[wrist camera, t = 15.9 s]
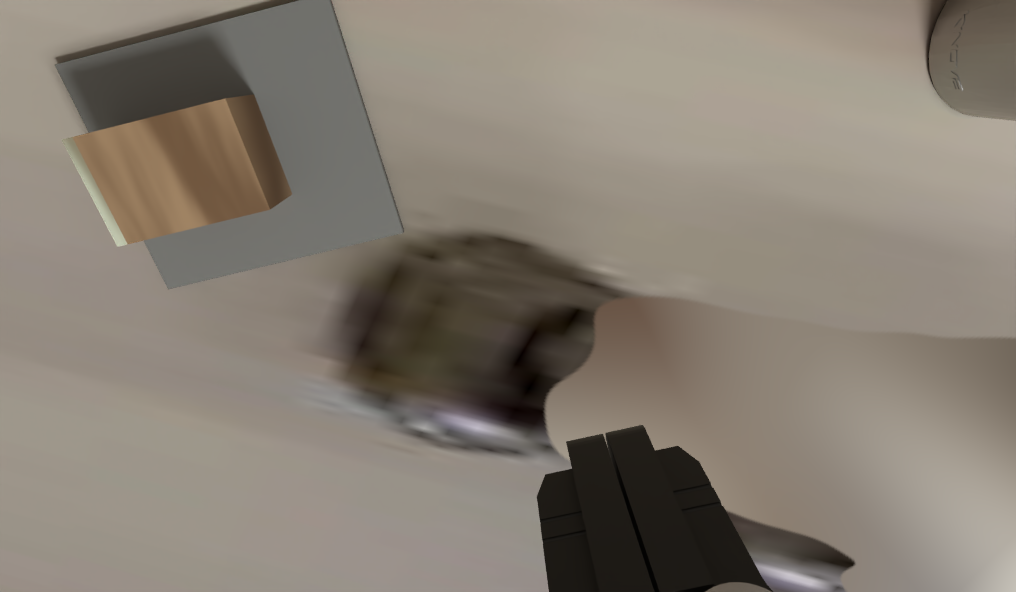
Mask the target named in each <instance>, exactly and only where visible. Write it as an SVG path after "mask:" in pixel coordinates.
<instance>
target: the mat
mask: <svg viewBox="0 0 1016 592" xmlns="http://www.w3.org/2000/svg"><path fill="white" fill-rule="evenodd" d="M55 66H56V68H57V70H58V72H59V74H60V76H61V78H62V80H63V82H64V84H65V86H66V88H67V90H68V92H69V94H70V96H71V98H72V100H73V102H74V104H75V106H76V108H77V110H78V112H79V114H80V116H81V118H82V120H83V122H84V124H85V126H86V128H87V130H88V132H89V133H91V132H95V131H99V130H102V129H106V128H110V127H114V126H118V125H122V124H126V123H130V122H134V121H138V120H142V119H146V118H150V117H154V116H158V115H162V114H166V113H170V112H173V111H177V110H181V109H185V108H189V107H193V106H197V105H201V104H205V103H209V102H213V101H217V100H221V99H225V98H232V97H239V96H246V95H255V98H256V101H257V103H258V106H259V108H260V111H261V114H262V116H263V119H264V121H265V124H266V127H267V129H268V132H269V134H270V137H271V140H272V142H273V145H274V147H275V150H276V153H277V155H278V158H279V161H280V163H281V166H282V168H283V171H284V174H285V176H286V179H287V181H288V184H289V187H290V189H291V192H292V195H291V196H289V197H288V198H286V199H285V200H284V201H282V202H281V203H279V204H278V205H276V206H275V207H273V208H272V209H270V210H267V211H263V212H259V213H255V214H251V215H246V216H242V217H238V218H234V219H230V220H226V221H222V222H218V223H214V224H209V225H205V226H201V227H197V228H193V229H189V230H185V231H181V232H176V233H172V234H168V235H164V236H160V237H156V238H152V239H148V240H144V242H145V244H146V246H147V248H148V250H149V252H150V254H151V256H152V258H153V260H154V262H155V264H156V266H157V268H158V270H159V272H160V274H161V276H162V278H163V280H164V282H165V284H166V286H167V288H168V289H172V288H176V287H180V286H184V285H188V284H193V283H197V282H201V281H205V280H209V279H213V278H218V277H222V276H226V275H230V274H234V273H238V272H243V271H247V270H251V269H255V268H259V267H263V266H268V265H272V264H276V263H280V262H284V261H288V260H292V259H297V258H301V257H305V256H309V255H313V254H317V253H322V252H326V251H330V250H334V249H338V248H342V247H347V246H351V245H355V244H359V243H363V242H367V241H372V240H376V239H380V238H384V237H388V236H392V235H396V234H401V233H404V229H403V226H402V223H401V219H400V216H399V213H398V210H397V207H396V204H395V200H394V197H393V194H392V191H391V188H390V185H389V181H388V178H387V175H386V172H385V169H384V166H383V163H382V159H381V156H380V153H379V150H378V147H377V144H376V140H375V137H374V134H373V131H372V128H371V125H370V121H369V118H368V115H367V112H366V109H365V106H364V102H363V99H362V96H361V93H360V90H359V87H358V83H357V80H356V77H355V74H354V71H353V68H352V64H351V61H350V58H349V55H348V52H347V49H346V46H345V42H344V39H343V36H342V33H341V30H340V27H339V23H338V20H337V17H336V14H335V11H334V8H333V4H332V1H331V0H298V1H295V2H291V3H287V4H283V5H279V6H276V7H272V8H268V9H264V10H260V11H257V12H253V13H249V14H245V15H242V16H238V17H234V18H230V19H226V20H223V21H219V22H215V23H211V24H207V25H204V26H200V27H196V28H192V29H188V30H185V31H181V32H177V33H173V34H169V35H166V36H162V37H158V38H154V39H151V40H147V41H143V42H139V43H135V44H132V45H128V46H124V47H120V48H116V49H113V50H109V51H105V52H101V53H97V54H94V55H90V56H86V57H82V58H78V59H75V60H71V61H67V62H63V63H60V64H56V65H55Z"/></svg>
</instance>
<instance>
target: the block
mask: <svg viewBox="0 0 1016 592" xmlns="http://www.w3.org/2000/svg"><path fill="white" fill-rule="evenodd" d="M62 142H63V144H64V146H65V147H66V149H67V151H68V153H69V155H70V157H71V159H72V161H73V163H74V165H75V167H76V168H77V170H78V172H79V174H80V176H81V178H82V180H83V182H84V184H85V186H86V188H87V189H88V191H89V193H90V195H91V197H92V199H93V201H94V203H95V205H96V207H97V209H98V210H99V212H100V214H101V216H102V218H103V220H104V222H105V224H106V226H107V228H108V230H109V231H110V233H111V235H112V237H113V239H114V241H115V243H116V245H117V247H119V246H123V245H127V244H131V243H135V242H139V241H143V240H148V239H152V238H156V237H160V236H164V235H168V234H172V233H176V232H181V231H185V230H189V229H193V228H197V227H201V226H205V225H209V224H214V223H218V222H222V221H226V220H230V219H234V218H238V217H242V216H246V215H251V214H255V213H259V212H263V211H267V210H270V209H272V208H273V207H275V206H276V205H278V204H279V203H281V202H282V201H284V200H285V199H286V198H288V197H289V196H291V195H292V192H291V189H290V187H289V184H288V181H287V179H286V176H285V174H284V171H283V168H282V166H281V163H280V161H279V158H278V155H277V153H276V150H275V147H274V145H273V142H272V140H271V137H270V134H269V132H268V129H267V127H266V124H265V121H264V119H263V116H262V114H261V111H260V108H259V106H258V103H257V101H256V98H255V95H246V96H239V97H232V98H225V99H221V100H217V101H213V102H209V103H205V104H201V105H197V106H193V107H189V108H185V109H181V110H177V111H173V112H170V113H166V114H162V115H158V116H154V117H150V118H146V119H142V120H138V121H134V122H130V123H126V124H122V125H118V126H114V127H110V128H106V129H102V130H99V131H95V132H91V133H87V134H83V135H79V136H75V137H71V138H67V139H63V140H62Z"/></svg>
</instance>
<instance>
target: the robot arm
mask: <svg viewBox="0 0 1016 592" xmlns="http://www.w3.org/2000/svg"><path fill="white" fill-rule="evenodd" d="M929 70H930V75H931V78H932V82H933V85H934V87H935V89H936V91H937V92H938V94H939V96H940V97H941V99H942V100H943V101H944V102H945V103H947V104H948V105H949V106H950V107H951V108H953V109H955V110H957V111H959V112H960V113H962V114H966V115H971V116H976V117H984V118H994V119H1003V120H1012V121H1016V0H947V2H946V4H945V6H944V8H943V10H942V11H941V13H940V15H939V17H938V19H937V22H936V25H935V28H934V31H933V34H932V37H931V43H930V50H929ZM606 441H607V445H608V448H607V445H606V442H605V439H604V436H603V434H599V435H595V436H590V437H586V438H581V439H576V440H572V441H567V442H566V443H567V447H568V452H569V457H570V461H571V466H572V469H569V470H565V471H560V472H555V473H551V474H546V475H545V477H544V480H543V482H542V485H541V487H540V490H539V493H538V495H537V501H538V508H539V516H540V522H541V532H542V540H543V548H544V556H545V564H546V572H547V580H548V588H549V592H773V591H772V590H771V589H770V588H769V587H768V585H767V584H766V583H765V581H764V580H763V578H762V577H761V575H760V573H759V571H758V569H757V567H756V566H755V564H754V562H753V560H752V558H751V556H750V555H749V553H748V551H747V549H746V547H745V545H744V544H743V542H742V540H741V538H740V536H739V534H738V532H737V531H736V529H735V527H734V525H733V523H732V521H731V520H730V518H729V516H728V514H727V512H726V510H725V509H724V507H723V506H722V505H721V502H720V499H719V498H718V496H717V494H716V492H715V490H714V488H712V486H711V483H710V481H709V479H708V477H707V476H706V474H705V472H704V470H703V468H702V466H701V464H700V463H699V461H697V460H696V459H695V458H693V457H692V456H690V455H689V454H688V453H687V452H685V451H684V450H682V448H680V447H679V446H675V447H671V448H666V449H661V450H656V451H655V450H654V448H653V445H652V443H651V441H650V439H649V436H648V434H647V432H646V430H645V428H644V426H643V425H640V426H635V427H631V428H626V429H622V430H617V431H612V432H608V433H606Z"/></svg>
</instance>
